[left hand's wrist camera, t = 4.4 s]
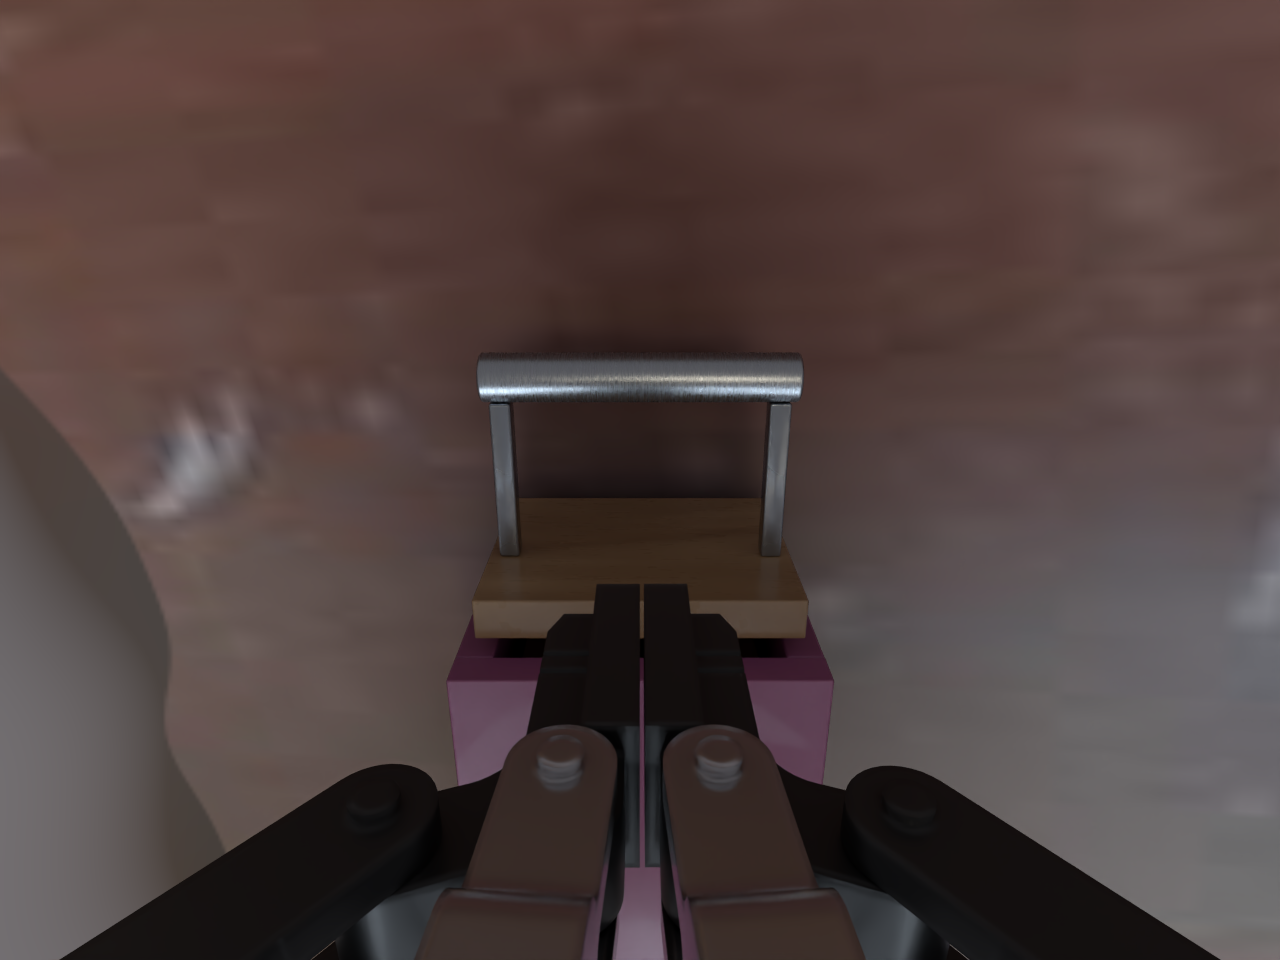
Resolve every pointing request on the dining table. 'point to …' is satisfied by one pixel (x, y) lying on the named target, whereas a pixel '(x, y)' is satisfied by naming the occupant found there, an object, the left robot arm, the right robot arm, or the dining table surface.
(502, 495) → the drawer
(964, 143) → the dining table surface
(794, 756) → the purple rectangular box
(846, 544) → the dining table surface
